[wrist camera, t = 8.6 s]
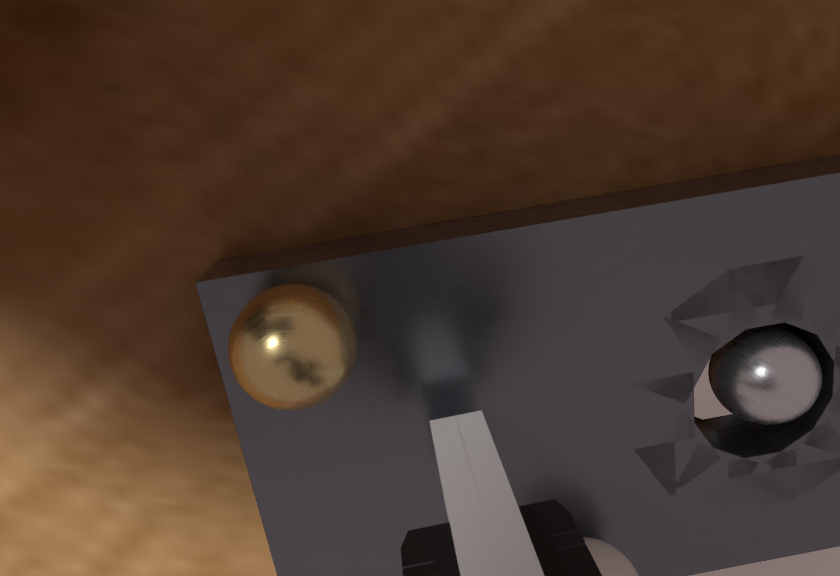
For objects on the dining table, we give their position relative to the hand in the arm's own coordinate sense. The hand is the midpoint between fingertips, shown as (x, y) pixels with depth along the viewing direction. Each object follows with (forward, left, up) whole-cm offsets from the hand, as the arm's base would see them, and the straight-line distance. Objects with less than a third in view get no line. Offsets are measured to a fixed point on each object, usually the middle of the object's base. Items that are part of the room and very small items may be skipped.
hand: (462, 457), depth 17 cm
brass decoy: (-4, -4, 0) cm, 6 cm away
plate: (0, +5, -4) cm, 6 cm away
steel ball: (0, +10, -2) cm, 10 cm away
